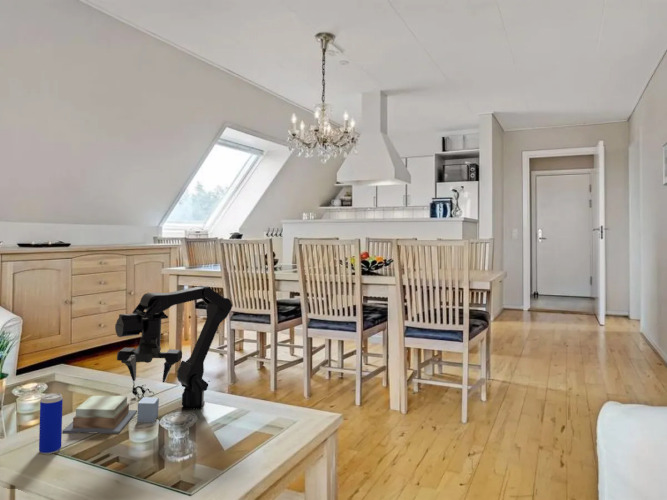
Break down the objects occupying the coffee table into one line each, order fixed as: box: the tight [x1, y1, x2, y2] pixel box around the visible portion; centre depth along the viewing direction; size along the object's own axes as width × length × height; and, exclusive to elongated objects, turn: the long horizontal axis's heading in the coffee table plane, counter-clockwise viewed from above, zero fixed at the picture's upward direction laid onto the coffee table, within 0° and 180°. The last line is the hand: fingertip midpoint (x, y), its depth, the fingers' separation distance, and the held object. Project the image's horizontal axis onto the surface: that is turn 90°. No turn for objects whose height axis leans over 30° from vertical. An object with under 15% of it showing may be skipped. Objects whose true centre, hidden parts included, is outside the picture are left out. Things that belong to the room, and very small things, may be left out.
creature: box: [131, 381, 155, 399], centre depth 169 cm, size 8×5×8 cm
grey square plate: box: [62, 409, 138, 434], centre depth 146 cm, size 16×16×1 cm
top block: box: [136, 396, 160, 423], centre depth 150 cm, size 5×5×6 cm
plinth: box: [72, 395, 130, 428], centre depth 146 cm, size 12×12×6 cm
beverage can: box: [38, 392, 64, 455], centre depth 126 cm, size 5×5×15 cm
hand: (149, 381), depth 150 cm, fingers open, 9 cm apart
